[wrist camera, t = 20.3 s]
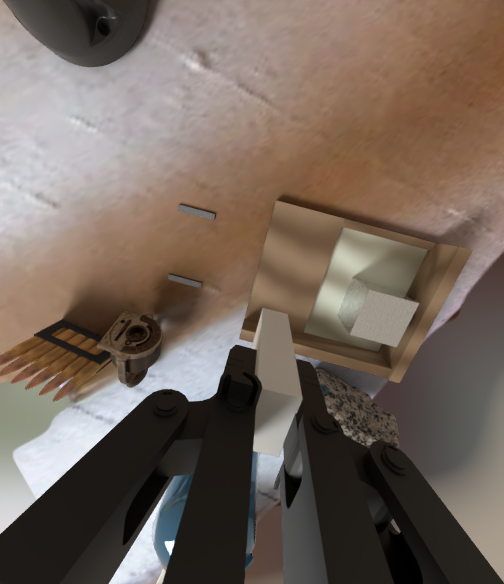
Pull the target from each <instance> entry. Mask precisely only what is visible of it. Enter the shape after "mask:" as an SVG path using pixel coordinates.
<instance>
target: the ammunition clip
mask: <svg viewBox="0 0 504 584" xmlns="http://www.w3.org/2000/svg"><path fill="white" fill-rule="evenodd" d="M102 338H103V337H100V336H98V335H96V334H94V333H92V332H89V331H87V330H85V329H83V328H81V327H78V326H76V325H74V324H72V323H70V322H67V321H65V320H63V319H62V320H60V321H58V322H56V323H55V324H53V325H51V326H49V327H47V328H45V329H43V330H41V331H40V332H38V333H36V334H34V337H32V338H30V339H28V340H26V341H24V342H22V343H20V344H18V345H17V346H15V347H14V348H12V349H11V350H9V351H7V352H6V353H4V354H2V355H0V366H1V365H4V364H6V363H8V362H9V361H12V360H14V359H16V358H18V357H20V358H19V359H17V360H16V361H14V362H12V363H11V364H9V365H8V366H6V367H5V368H4V369H2V370H1V371H0V377H2V376H5V375H8V374H11V373H13V372H15V371H17V370H19V369H21V368H22V367H25V366H26V365H28V364H30V363H32V362H34V363H33V364H31V365H30V366H29V367H27V368H26V369H24V370H23V371H22V372H20V373H19V374H18V375H17V376H16V377H15V378H14V379H13V380H12V381H11V384H13V383H17V382H20V381H22V380H24V379H26V378H28V377H30V376H32V375H34V374H35V373H37V372H39V371H40V370H42V369H44V368H46V367H48V368H46V369H45V370H44V371H43V372H41V373H40V374H38V375H37V376H36V377H35V378H33V379H32V380H31V381H30V382H29V383H28V384H27V386H26V387H25V390H27V389H31V388H33V387H35V386H37V385H39V384H41V383H43V382H44V381H46V380H47V379H49V378H51V377H52V376H54V375H55V374H57V373H59V372H61V371H62V372H61V373H59V374H58V375H57V376H56V377H55V378H53V379H52V380H51V381H50V382H49V383H48V384H46V385H45V387H44V388H43V389H42V390H41V391H40V393H39V395H44V394H46V393H48V392H50V391H52V390H54V389H55V388H56V387H58V386H60V385H61V384H62V383H64V382H65V381H67V380H68V379H70V378H72V377H73V376H74V377H73V378H72V379H71V380H70V381H69V382H68V383H67V384H66V385H65V386H63V387H62V388H61V389H60V390H59V392H58V393H57V394H56V395H55V397H54V398H53V402H54V401H57V400H59V399H61V398H63V397H64V396H66V395H68V394H69V393H70V392H72V391H73V390H74V389H75V388H77V387H78V386H79V385H81V384H82V383H84V382H86V381H87V380H88V379H89V378H90V377H91V376H93V375H94V374H95V373H98V372H99V371H100V370H101V369H103V368H104V367H105V366H106V365H108V364H109V363H110V362H111V361H112V359H111V355H110V352H109V351H106V350H103V349H99V348H97V346H98V344H99V342H100V341H101V339H102ZM21 356H22V357H21ZM35 361H36V362H35Z"/></svg>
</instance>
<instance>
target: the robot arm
mask: <svg viewBox="0 0 504 584" xmlns="http://www.w3.org/2000/svg"><path fill="white" fill-rule="evenodd" d="M3 1H4V3H5V4H6V5H7V6H8V7H9V9H10V10H11V11H12V12H13V14H14V15H15V17H16V18H17V19H18V21H19V22H20V23H21V24H22V25H23V27H24V28H25V29H26V30H27V31H28V32H29V33H30V34H31V35H32V36H34V37H35V38H36V39H37V40H38V41H39V42H41V43H42V44H43V45H44V46H46V47H47V48H48V49H50V50H51V51H52V52H54V53H55V54H56V55H58V56H59V57H61V58H62V59H64V60H66V61H68V62H70V63H73V64H76V65H79V66H84V67H99V66H104V65H107V64H110V63H112V62H114V61H116V60H117V59H119V58H120V57H121V56H123V55H124V54H125V53H126V52H127V51H128V50H129V49H130V47H131V46H132V45H133V43H134V42H135V40H136V39H137V37H138V35H139V33H140V31H141V29H142V26H143V23H144V20H145V17H146V12H147V7H148V1H149V0H3ZM282 449H284V461H283V464H282V466H281V468H280V471H279V473H278V476H277V478H276V480H275V484H274V489H275V490H277V488H278V486H279V484H280V492H281V519H282V546H283V573H284V584H504V583H503V581H502V580H501V578H500V577H499V576H498V575H497V573H496V572H495V571H494V569H493V568H492V567H491V566H490V564H489V563H488V561H487V560H486V559H485V557H484V556H483V555H482V553H481V552H480V551H479V549H478V548H477V547H476V545H475V544H474V543H473V542H472V541H471V539H470V538H469V536H468V535H467V534H466V532H465V531H464V530H463V528H462V527H461V526H460V524H459V523H458V522H457V520H456V519H455V518H454V516H453V515H452V514H451V512H450V511H449V510H448V509H447V507H446V506H445V505H444V503H443V502H442V501H441V499H440V498H439V497H438V495H437V494H436V493H435V491H434V490H433V489H432V487H431V486H430V485H429V484H428V482H427V481H426V480H425V478H424V477H423V476H422V474H421V473H420V472H419V470H418V469H417V468H416V467H415V465H414V464H413V462H412V461H411V460H410V459H409V458H408V457H407V456H406V455H405V454H404V453H403V452H402V451H401V450H399V449H398V448H397V447H396V446H394V445H392V444H390V443H388V442H385V441H380V440H378V441H373V443H372V444H371V446H370V447H369V448H368V447H366V446H364V445H362V444H360V443H359V442H357V441H355V440H353V439H351V438H349V437H348V436H346V435H345V434H344V432H343V429H342V427H341V425H340V423H339V422H338V421H337V420H336V419H335V418H334V417H333V416H332V415H331V414H329V413H328V410H327V406H326V403H325V399H324V396H323V393H322V389H321V388H320V382H319V380H318V376H317V372H316V370H315V369H314V367H313V366H312V365H311V363H310V362H306V361H302V360H298V359H296V358H295V353H294V347H293V341H292V336H291V330H290V324H289V319H288V314H285V313H281V312H278V311H274V310H270V309H266V308H263V309H262V312H261V316H260V319H259V323H258V326H257V330H256V333H255V337H254V341H253V344H252V348H247V347H243V346H240V345H235V346H234V347H233V348H232V349H230V352H229V356H228V359H227V362H226V366H225V369H224V373H223V375H222V376H221V378H220V382H219V386H218V390H217V393H216V394H215V395H214V396H213V397H211V398H209V399H207V400H204V401H193V402H189V401H188V400H187V398H186V396H185V395H183V394H182V393H181V392H179V391H176V390H172V389H162V390H159V391H156V392H153V393H152V394H150V395H149V396H147V397H146V398H145V399H144V400H143V401H142V402H141V403H140V404H139V405H138V406H137V407H136V408H134V409H133V410H132V411H131V412H130V413H129V414H128V415H127V416H126V417H125V418H124V419H123V420H122V421H121V422H120V423H118V424H117V425H116V426H115V427H114V428H113V429H112V430H111V431H110V432H109V433H108V434H107V435H106V436H105V437H104V438H102V439H101V440H100V441H99V442H98V443H97V444H96V445H95V446H94V447H93V448H92V449H91V450H90V451H89V452H88V453H86V454H85V455H84V456H83V457H82V458H81V459H80V460H79V461H78V462H77V463H76V464H75V465H74V466H73V467H72V468H70V469H69V470H68V471H67V472H66V473H65V474H64V475H63V476H62V477H61V478H60V479H59V480H58V481H57V482H56V483H54V484H53V485H52V486H51V487H50V488H49V489H48V490H47V491H46V492H45V493H44V494H43V495H42V496H41V497H40V498H38V499H37V500H36V501H35V502H34V503H33V504H32V505H31V506H30V507H29V508H28V509H27V510H26V511H25V512H24V513H22V514H21V515H20V516H19V517H18V518H17V519H16V520H15V521H14V522H13V523H12V524H11V525H10V526H9V527H8V528H6V530H4V531H3V532H2V533H1V534H0V584H109V582H110V580H111V579H112V577H113V575H114V574H115V572H116V571H117V569H118V567H119V566H120V564H121V562H122V561H123V559H124V558H125V556H126V554H127V553H128V551H129V549H130V548H131V546H132V545H133V543H134V541H135V540H136V538H137V536H138V535H139V533H140V532H141V530H142V528H143V527H144V525H145V523H146V522H147V520H148V519H149V517H150V515H151V514H152V512H153V510H154V509H155V507H156V506H157V504H158V502H159V501H160V499H161V497H162V496H163V494H164V493H165V491H166V489H167V488H168V486H169V484H170V483H171V481H172V480H173V478H174V476H180V475H188V474H194V475H193V479H192V482H191V486H190V489H189V492H188V496H187V499H186V503H185V506H184V510H183V513H182V517H181V520H180V524H179V527H178V531H177V534H176V538H175V541H174V545H173V548H172V552H171V555H170V559H169V562H168V566H167V569H166V573H165V576H164V579H163V583H162V584H244V579H245V564H246V549H247V534H248V519H249V504H250V489H251V474H252V459H253V451H255V452H259V453H264V454H268V455H272V456H276V457H279V456H280V454H281V451H282ZM392 519H394V520H395V522H396V524H397V526H398V527H399V529H400V531H401V532H400V533H398V532H397V531H396V530H395V528H394V527H393V525H392V524H391V521H392Z"/></svg>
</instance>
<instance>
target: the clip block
mask: <svg viewBox="0 0 504 584" xmlns="http://www.w3.org/2000/svg"><path fill="white" fill-rule="evenodd" d="M418 305H419V303H418V302H416V301H414V300H413V299H411V298H409V297H407V296H406V295H404V294H402V293H400V292H399V291H397V290H395V289H393V288H390V287H386V286H382V285H379V284H375V283H371V282H368V281H364V280H360V279H357V278H353V277H352V279H351V281H350V284H349V286H348V289H347V291H346V294H345V296H344V299H343V301H342V303H341V306H340V308H339V311H338V313H337V317H338V318H339V320H340V321H341V323H342V324H343V326H344V327H345V329H346V330H347V331H348V333H349V334H350V335H353V336H357V337H360V338H364V339H368V340H371V341H375V342H379V343H382V344H386V345H390V346H393V347H397V346H398V344H399V342H400V340H401V338H402V336H403V334H404V332H405V330H406V328H407V327H408V326H409V325H410V324H411V322H412V319H413V315H414V313H415V311H416V309H417V307H418Z"/></svg>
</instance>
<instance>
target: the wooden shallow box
mask: <svg viewBox="0 0 504 584" xmlns="http://www.w3.org/2000/svg"><path fill="white" fill-rule="evenodd" d="M472 251H473V250H470V249H467V248H463V247H459V246H452V245H445V244H439V243H434V242H430V241H426V240H422V239H419V238H415V237H411V236H407V235H404V234H400V233H396V232H393V231H389V230H385V229H381V228H378V227H374V226H370V225H366V224H363V223H359V222H355V221H351V220H348V219H344V218H340V217H337V216H333V215H329V214H325V213H322V212H318V211H314V210H310V209H307V208H303V207H299V206H295V205H292V204H288V203H284V202H281V201H277V200H276V203H275V207H274V210H273V214H272V218H271V221H270V225H269V229H268V233H267V236H266V240H265V244H264V248H263V251H262V255H261V259H260V263H259V266H258V270H257V274H256V278H255V281H254V285H253V289H252V293H251V296H250V300H249V304H248V308H247V311H246V315H245V319H244V323H243V326H242V330H241V334H240V338H239V339H242V340H245V341H249V342H253V341H254V337H255V333H256V330H257V326H258V323H259V319H260V316H261V312H262V309H263V308H266V309H270V310H274V311H278V312H281V313H285V314H288V319H289V324H290V330H291V336H292V341H293V347H294V353H295V354H298V355H302V356H306V357H309V358H313V359H317V360H321V361H324V362H328V363H332V364H336V365H339V366H343V367H347V368H351V369H354V370H358V371H362V372H366V373H370V374H373V375H377V376H381V377H385V378H387V379H388V380H389V381H392V382H396V383H400V382H401V380H402V378H403V376H404V374H405V373H406V371H407V369H408V367H409V365H410V363H411V362H412V360H413V358H414V356H415V354H416V353H417V351H418V349H419V347H420V345H421V343H422V342H423V340H424V338H425V336H426V334H427V333H428V331H429V329H430V327H431V325H432V324H433V322H434V320H435V318H436V316H437V314H438V313H439V311H440V309H441V307H442V305H443V304H444V302H445V300H446V298H447V296H448V294H449V293H450V291H451V289H452V287H453V285H454V284H455V282H456V280H457V278H458V276H459V275H460V273H461V271H462V269H463V267H464V265H465V264H466V262H467V260H468V258H469V256H470V255H471V253H472ZM352 277H353V278H357V279H360V280H364V281H368V282H371V283H375V284H379V285H382V286H386V287H390V288H393V289H395V290H397V291H399V292H400V293H402V294H404V295H406V296H407V297H409V298H411V299H413V300H414V301H416V302H418V303H419V305H418V307H417V309H416V311H415V313H414V315H413V319H412V322H411V324H410V325H409V326H408V327H407V328H406V330H405V332H404V334H403V336H402V338H401V340H400V342H399V344H398V346H397V347H393V346H390V345H386V344H382V343H379V342H375V341H371V340H368V339H364V338H360V337H357V336H353V335H350V334H349V333H348V331H347V330H346V329H345V327H344V326H343V324H342V323H341V321H340V320H339V318H338V317H337V313H338V311H339V308H340V306H341V303H342V301H343V299H344V296H345V294H346V291H347V289H348V286H349V284H350V281H351V279H352Z"/></svg>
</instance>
